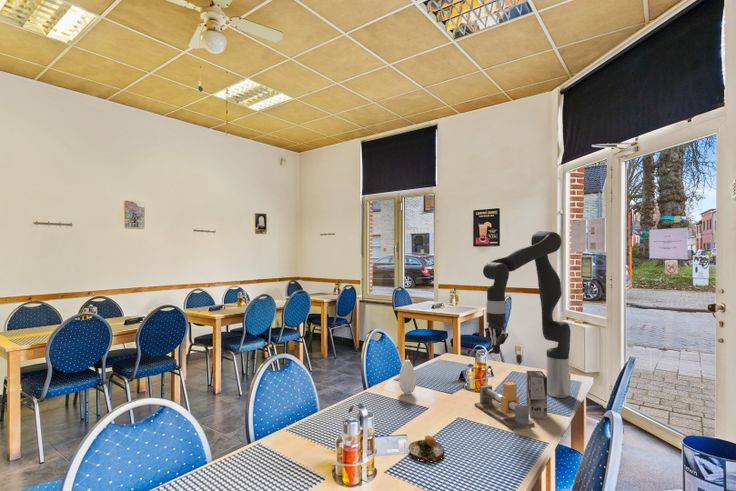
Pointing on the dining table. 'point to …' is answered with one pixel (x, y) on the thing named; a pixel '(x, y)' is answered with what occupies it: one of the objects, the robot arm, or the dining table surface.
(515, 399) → the collar
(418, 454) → the bowl of food
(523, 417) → the pipe
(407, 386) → the white teardrop vase
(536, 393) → the coffee box
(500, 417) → the base board
